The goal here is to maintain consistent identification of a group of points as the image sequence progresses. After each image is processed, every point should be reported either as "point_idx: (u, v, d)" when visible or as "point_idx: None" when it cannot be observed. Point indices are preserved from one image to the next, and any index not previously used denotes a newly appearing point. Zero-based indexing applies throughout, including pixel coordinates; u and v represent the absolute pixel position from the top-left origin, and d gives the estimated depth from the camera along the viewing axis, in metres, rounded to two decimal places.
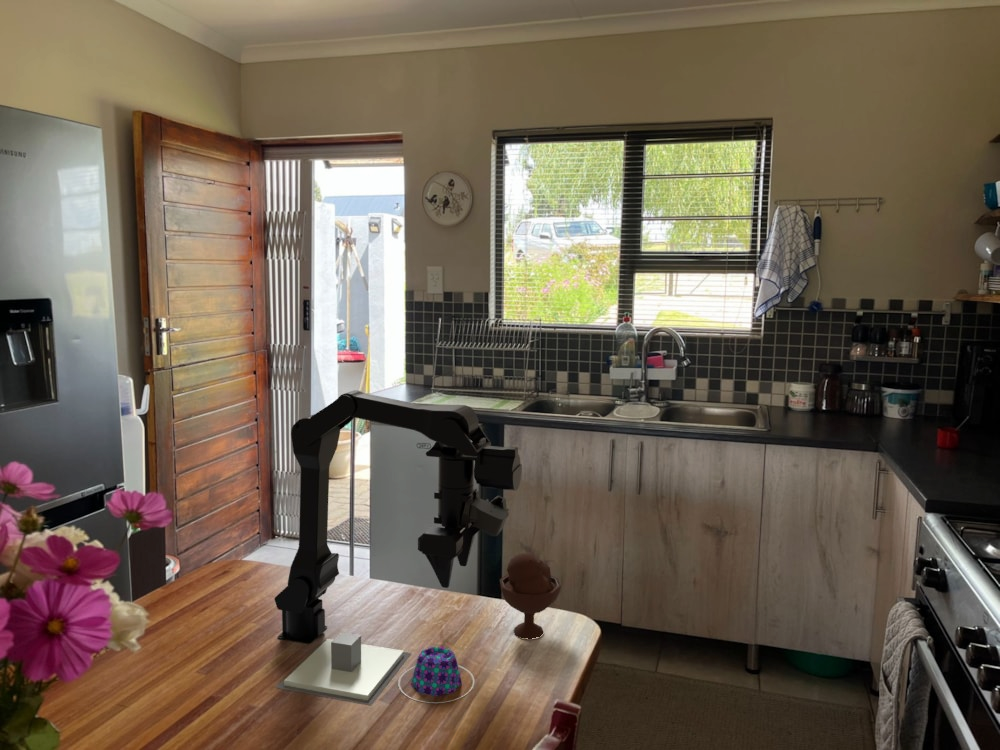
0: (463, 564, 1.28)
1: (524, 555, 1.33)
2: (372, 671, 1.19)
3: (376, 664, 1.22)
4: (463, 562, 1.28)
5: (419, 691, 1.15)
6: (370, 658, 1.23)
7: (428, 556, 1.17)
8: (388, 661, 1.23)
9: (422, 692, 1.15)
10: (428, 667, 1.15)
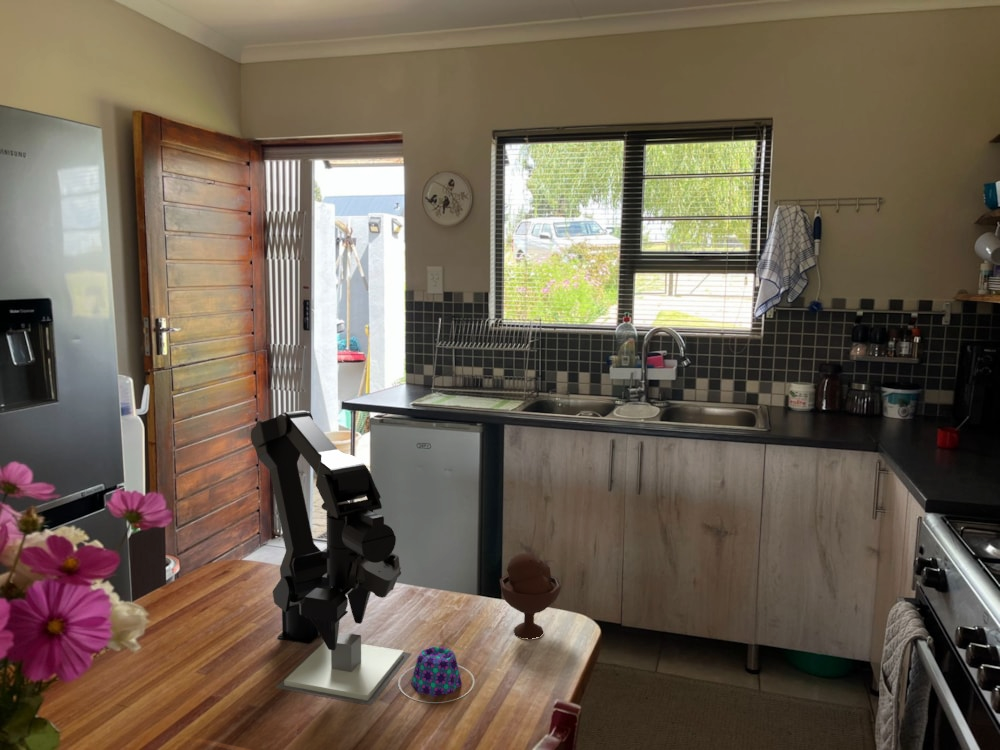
0: (358, 621, 1.25)
1: (524, 555, 1.33)
2: (372, 671, 1.19)
3: (376, 664, 1.22)
4: (358, 619, 1.25)
5: (418, 690, 1.15)
6: (370, 658, 1.23)
7: (312, 619, 1.14)
8: (388, 661, 1.23)
9: (421, 691, 1.15)
10: (427, 667, 1.15)
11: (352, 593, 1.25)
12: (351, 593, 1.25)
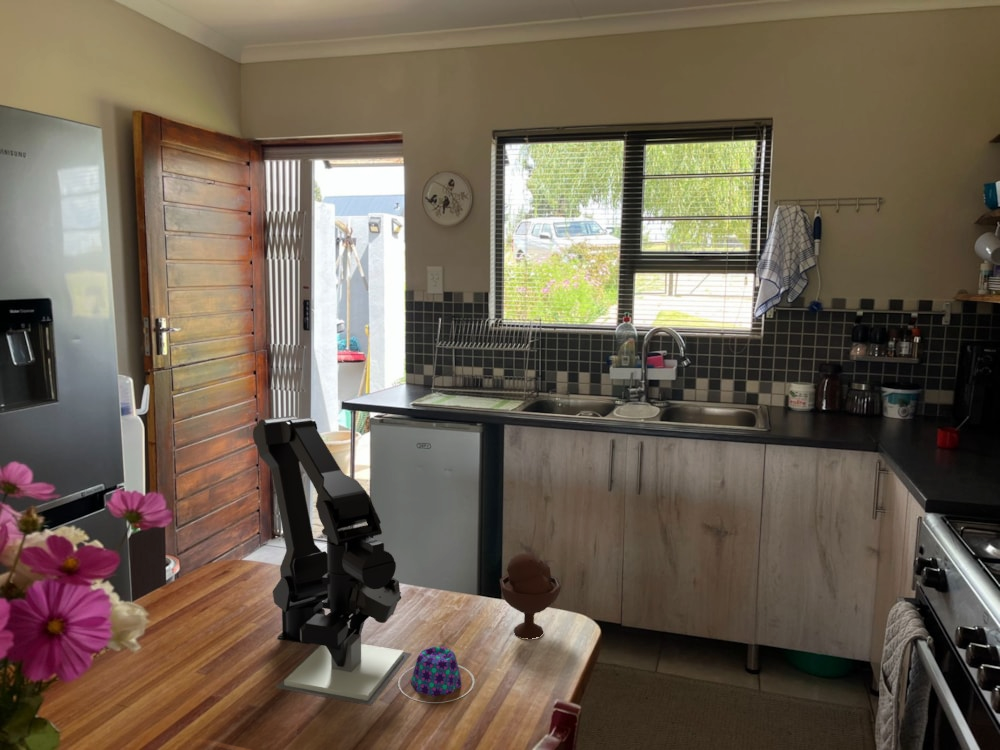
0: None
1: (524, 555, 1.33)
2: (372, 671, 1.19)
3: (376, 664, 1.22)
4: None
5: (417, 690, 1.15)
6: (370, 658, 1.23)
7: None
8: (388, 661, 1.23)
9: (420, 691, 1.15)
10: (425, 667, 1.15)
11: None
12: None
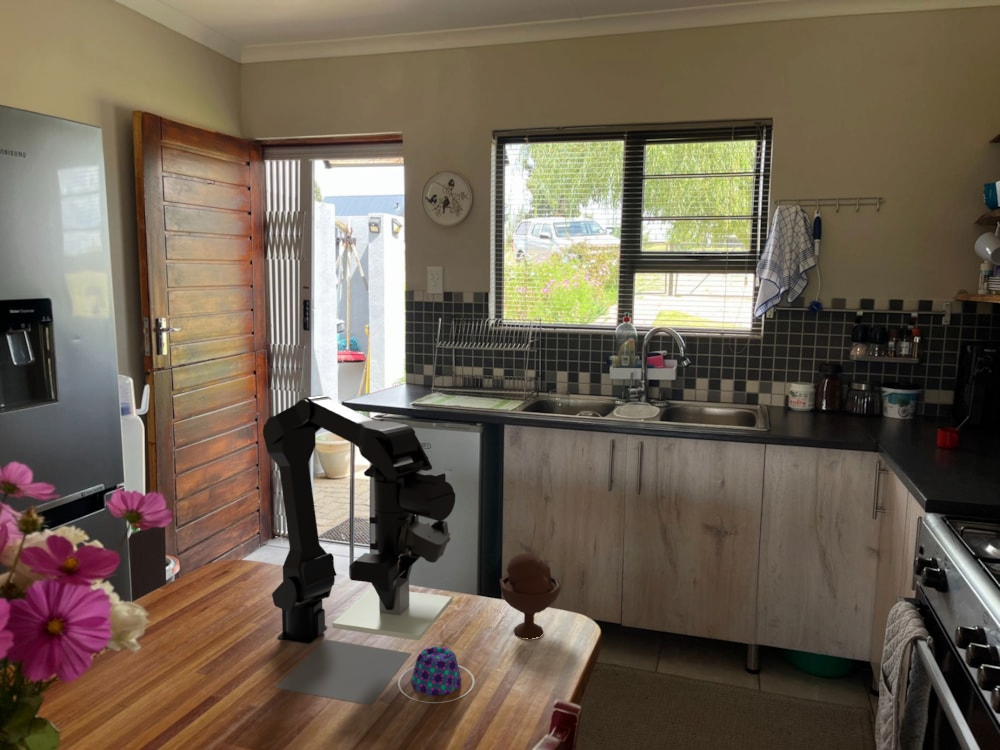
0: None
1: (524, 555, 1.33)
2: (422, 614, 1.16)
3: (425, 608, 1.18)
4: None
5: (416, 689, 1.16)
6: (418, 604, 1.20)
7: None
8: (437, 606, 1.19)
9: (418, 690, 1.15)
10: (424, 666, 1.15)
11: None
12: None
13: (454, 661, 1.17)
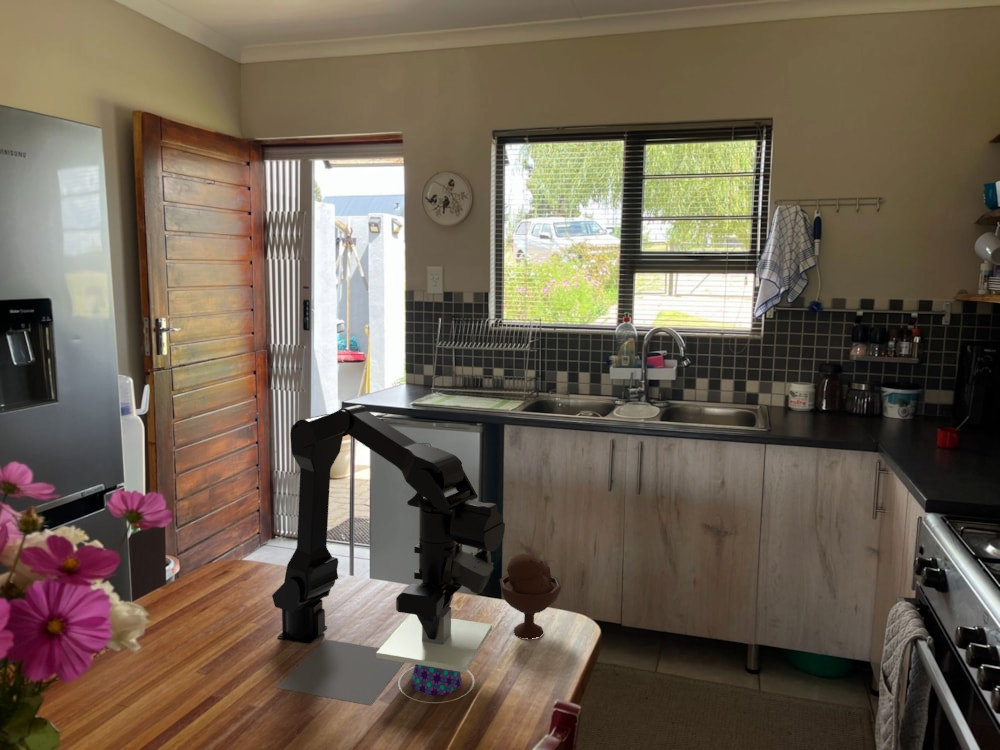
0: None
1: (524, 555, 1.33)
2: (464, 644, 1.16)
3: (467, 637, 1.18)
4: None
5: (415, 689, 1.16)
6: (459, 632, 1.19)
7: None
8: (478, 634, 1.19)
9: (417, 690, 1.15)
10: (424, 666, 1.16)
11: None
12: None
13: None
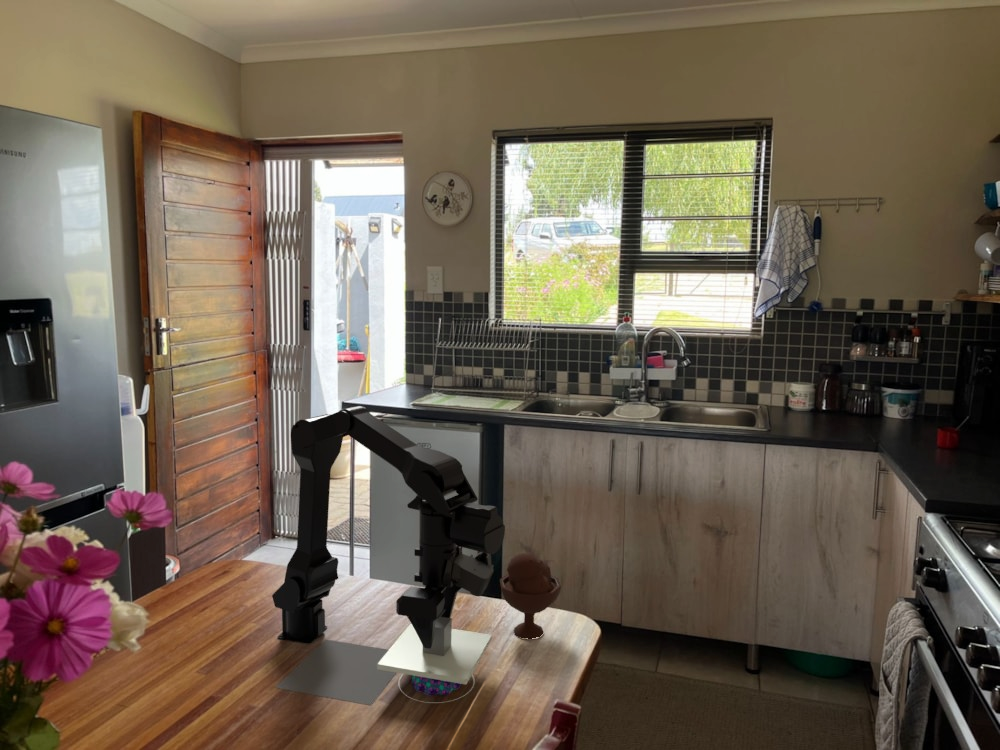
0: None
1: (524, 555, 1.33)
2: (465, 655, 1.16)
3: (467, 648, 1.18)
4: None
5: (415, 688, 1.16)
6: (459, 642, 1.20)
7: (409, 616, 1.11)
8: (479, 645, 1.19)
9: (417, 690, 1.16)
10: None
11: None
12: None
13: None
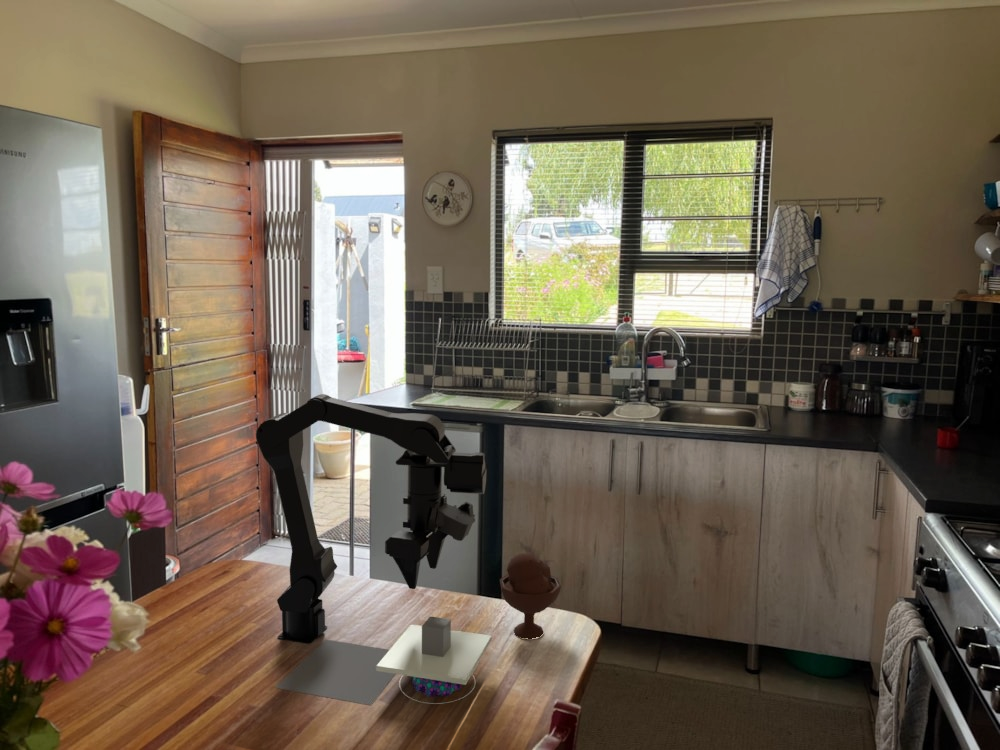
0: (433, 566, 1.34)
1: (524, 555, 1.33)
2: (464, 656, 1.16)
3: (467, 649, 1.18)
4: (433, 565, 1.34)
5: (415, 689, 1.16)
6: (459, 643, 1.20)
7: (395, 558, 1.23)
8: (478, 646, 1.19)
9: (418, 690, 1.15)
10: None
11: None
12: None
13: None
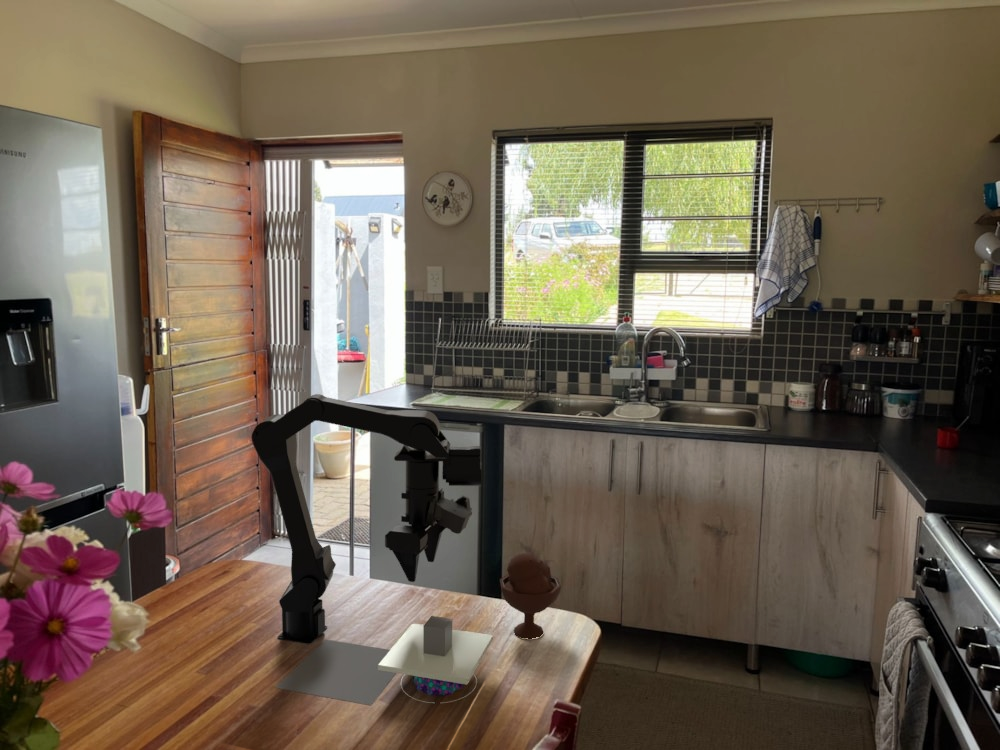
0: (431, 560, 1.36)
1: (524, 555, 1.33)
2: (466, 655, 1.16)
3: (468, 648, 1.18)
4: (430, 558, 1.36)
5: (417, 688, 1.16)
6: (460, 643, 1.20)
7: (395, 552, 1.26)
8: (480, 645, 1.19)
9: (419, 690, 1.16)
10: None
11: None
12: None
13: None
